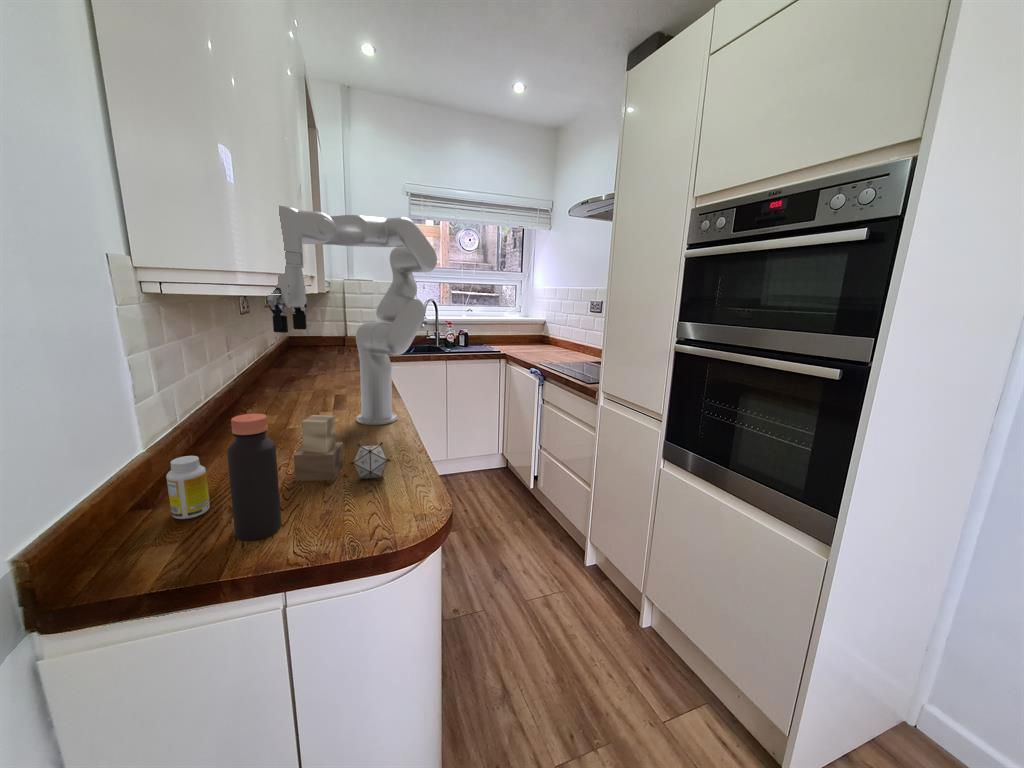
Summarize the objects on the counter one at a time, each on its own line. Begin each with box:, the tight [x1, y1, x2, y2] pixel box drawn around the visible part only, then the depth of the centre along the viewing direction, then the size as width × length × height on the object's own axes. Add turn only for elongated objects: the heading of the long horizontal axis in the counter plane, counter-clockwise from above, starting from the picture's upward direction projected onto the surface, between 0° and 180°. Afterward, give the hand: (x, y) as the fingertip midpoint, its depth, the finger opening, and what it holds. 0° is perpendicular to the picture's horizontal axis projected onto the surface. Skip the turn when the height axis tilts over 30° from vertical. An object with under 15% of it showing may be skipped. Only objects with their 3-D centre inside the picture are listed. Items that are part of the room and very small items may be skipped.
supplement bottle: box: [165, 455, 211, 520], centre depth 74 cm, size 6×6×10 cm
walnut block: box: [293, 441, 345, 482], centre depth 94 cm, size 8×8×6 cm
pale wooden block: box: [301, 414, 337, 453], centre depth 92 cm, size 5×5×7 cm
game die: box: [349, 441, 391, 483], centre depth 92 cm, size 9×8×10 cm
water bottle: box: [226, 413, 282, 542], centre depth 69 cm, size 7×7×20 cm
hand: (291, 330), depth 105 cm, fingers open, 9 cm apart
